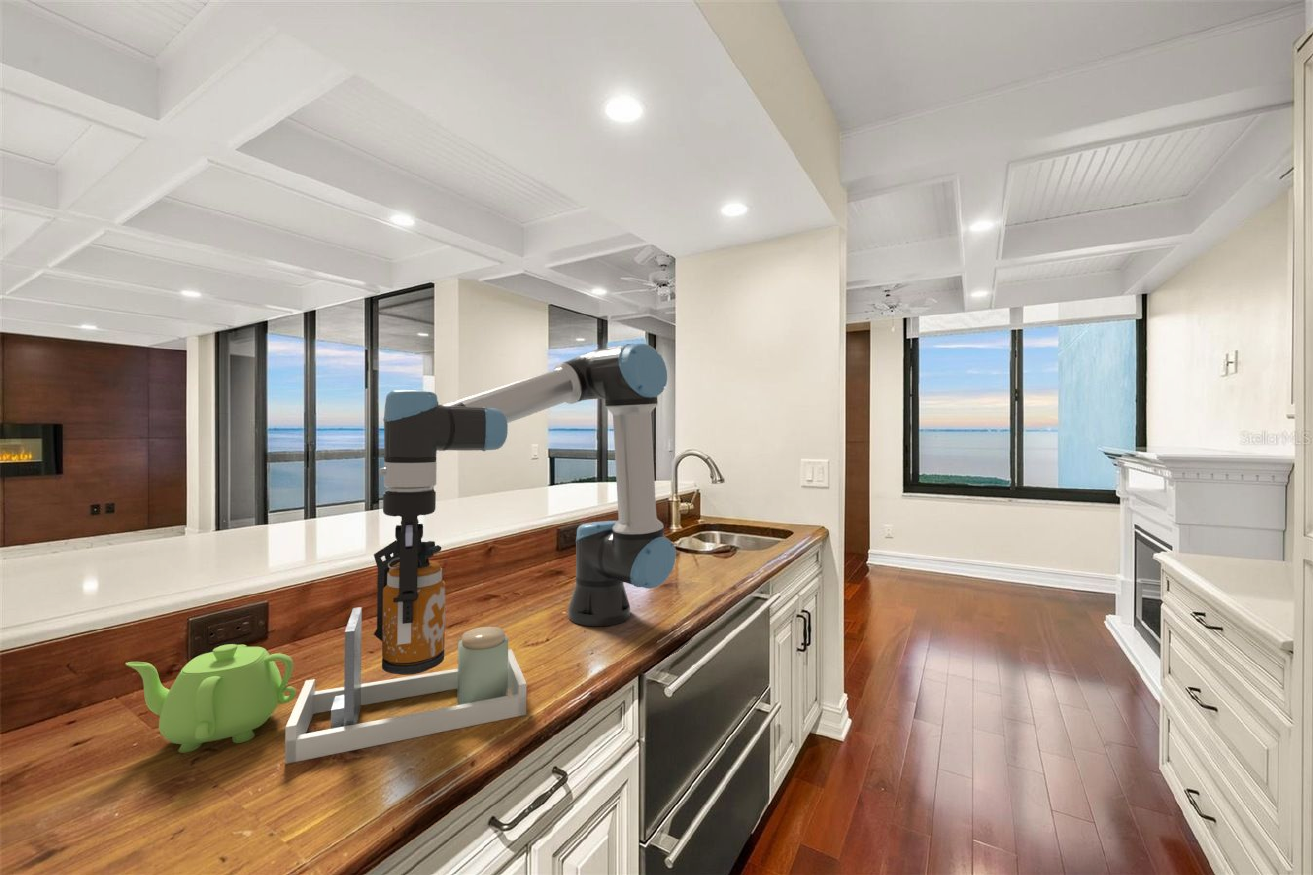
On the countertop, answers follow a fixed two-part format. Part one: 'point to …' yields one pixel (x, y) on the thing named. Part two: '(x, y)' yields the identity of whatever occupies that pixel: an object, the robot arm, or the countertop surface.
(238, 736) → the teapot
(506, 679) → the jar
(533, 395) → the robot arm
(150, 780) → the countertop surface
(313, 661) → the countertop surface
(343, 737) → the white rectangular frame
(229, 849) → the countertop surface
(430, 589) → the canister
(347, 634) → the panel
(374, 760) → the countertop surface
